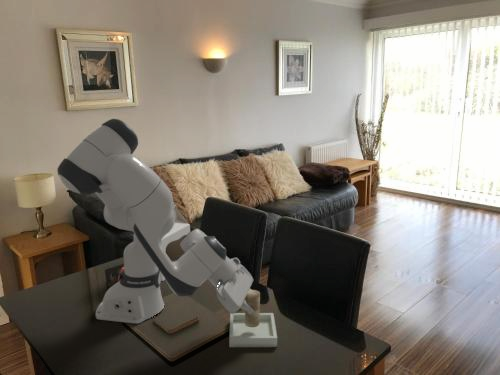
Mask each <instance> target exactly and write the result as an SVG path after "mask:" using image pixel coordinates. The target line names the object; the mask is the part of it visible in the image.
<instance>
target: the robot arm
mask: <svg viewBox="0 0 500 375" xmlns="http://www.w3.org/2000/svg"><path fill="white" fill-rule="evenodd" d="M138 145H139V138H138V136H137V134H136V133H135V131H134V130H133V128H132V127H131V126H130V125H129V124H127V123H126V122H124V121H123V120H121V119H118V118H111V119H108V120H107V121H104V122H103V123H102V124H101V126H100V127H98V128H96V129H95V130H93V131H92V132H91V133H90V134H88V135H86V137H85V138H83V140H82V141H81V142H80V143H79V144H78V145H77V146H76V147H75V148H74V149H73V150H72V151H71V152H70V153H69V155H68V156H67V157H66V158H63V160H62V161H61V162H60V163H59V165H58V167H57V171H56V172H57V175H58V176H59V179H60V180H61V182H62V184H63V185H64V186H65V187H66V188H67V189H68V190H69V191H71V192H74V193H76V194H79V195H81V196H83V195H84V196H86V195H93V194H95V195H96V196H97V197H98V198H99V199H100V201H102V203H103V204H104V208H103V217H104V221H105V222H106V223H107V224H109V225H111V226H112V227H115V228H117V229H119V230H124V231H128V232H132V233H133V235H134V234H135V238H134V237H133V241H132V242H129V244H127V245H126V246H125V248H124V250H123V253H122V254H123V266H122V267H121V269H120V271H119V273H118V277H117V281H118V282H116V283H115V284H113V285H112V286H111V287H109V288H108V289H107V291H105V293H104V296H103V299H102V302H100V303H99V304H98V306H97V308H96V310H95V318H96V320H99V321H100V320H101V321H109V322H110V321H111V322H116V323H117V322H120V323H128V324H137V325H138V324H140V323H143V322H145V321H146V320H148V319H152V318H154V317H155V316H154V315H156V314H157V313H159V312H160V311H161V310H162V309H163V308H164V305H165V302H164V300H163V297H162V296H163V295H162V292H161V282H162V281H161V278H160V272H161V273H162V274H163V276H164V278H165V280H164V281H165V283H166V284H167V285H168V287H169V289H170V290H171V291H172V292H173V293H174V294H175V295H177V296H178V297H190V296H193V295H194V294H195V293H196V292H197V291H198V289H200V288H201V285H203V284H204V283H205V282H206V281H207V280H208V281H209V282H210V283H211V284H212V285H213V286H214V289H215V293H216V297H217V299H218V301H219V302H220V303H221V305H222V306H223V307H224V308H225V310H226V311H227V312H228V313H229V314H230V313H231V314H234V313H238V311H239V310H240V309H241V310H243V311H244V312H245V311H247V312H248V314H252V313H253V312H254V308H253V307H252V306H251V305H248V304H247V303H246V301H245V300H244V299H245V297H246V295H247V293H248V291H249V290H252V289H251V286H252V285H253V282H254V278H253V276H252V274H251V273H250V272H249V271H248V269H247V268H246V267H245V266H244V265H242V263H241V261H240V259H239V258H238V257H233V258H229V257H228V256H227V248H226V247H225V246H223V244H222V243H220V241H219V240H218V239H217V238H216V236H215V235H207V234H205V232H203V231H202V230H201V229H200V228H195V229H193V230H190V233H188V234H187V235H186V236H185V237H184V238H183V240H182V241H181V243H180V246H181V248H182V249H183V251H184V252H185V254H184V255H182V256H181V257H180V258H179V259H178V260H177V261H174V262H172V261H171V260H170V258H169V257H168V255H167V254H166V252H165V251H164V250H163V248H162V247H161V245H160V242H161V239H162V238H163V237H164V236H165V235H166V234H167V233H168V232H170V230H171V229H172V228H173V226H174V223H175V214H174V211H173V209H172V206H173V202H174V197H173V193H172V191H171V189H170V188H169V186H168V185H167V184H166V183H165V181H164V180H163V179H162V178H161V177H160V176H159V175H158V174H157V172H156V171H154V170H153V169H152V168H151V166H149V165H147V164H146V163H145V162H144V161H143V160H141V158H139V157H137V156H136V155H134V152H135V151H136V150H137V148H138ZM164 309H165V308H164ZM153 316H154V317H153ZM151 317H152V318H151Z"/></svg>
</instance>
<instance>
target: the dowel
mask: <svg viewBox="0 0 500 375" xmlns="http://www.w3.org/2000/svg"><path fill="white" fill-rule="evenodd" d="M245 301H246V303H247V304H248V305H251V306H252V307H253V308H254V312H253V313H252V314H248V312H247V311H245V310H244V313H245V325H246V326H248V327H257V326H258V325H259V315H260V313H261V312H260V311H261V310H260V306H261V304H260V303H261V292H260V291H259V290H256V289H251V290H249V291H248V293H247V295H246V297H245Z"/></svg>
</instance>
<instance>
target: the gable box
mask: <svg viewBox="0 0 500 375" xmlns="http://www.w3.org/2000/svg"><path fill="white" fill-rule="evenodd" d="M177 206H178V205H177V203H174V201H173V206H172V209H173V211H174V214H175V223H174V226H173V228H172V229H171V230H170V232H168V233H167V234H166V235H165V236H164V237H163V238H162V239H161V242H160V245H161V247H162V248H163V250H164V251H165V252H166V254H167V255H168V257H169V258H170V260H171V261H172V262H174V261H177V260H178V259H179V258H180V257H181V256H182V255H184V254H185V252H184V251H183V249H182V248H181V246H180V243H181V241H182V240H183V238H184V237H185V236H186V235H187V234H188V233H190V232H191V224H190V223H189V221H188V220H187V219H186V217H185V215H184V214H183V212H182V211H181V210H180V209H179V208H178V207H177ZM134 238H135V234H134V233H133V239H134ZM160 278H161V282H164V281H166V280H165V278H164V276H163V274H162V273H161V272H160Z"/></svg>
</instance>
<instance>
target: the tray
mask: <svg viewBox="0 0 500 375" xmlns="http://www.w3.org/2000/svg"><path fill="white" fill-rule="evenodd" d="M229 314H230V317H229V337H228V338H229V339H228V340H229V341H228V342H229V344H228V345H229V348H277V347H278V334H277V328H276V322H275V316H274V315H275V314H274V313H273V312H268V313H267V312H260V315H259V325H258V326H257V327H248V326H246V325H245V312H235V313H234V314H231V313H229Z"/></svg>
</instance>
